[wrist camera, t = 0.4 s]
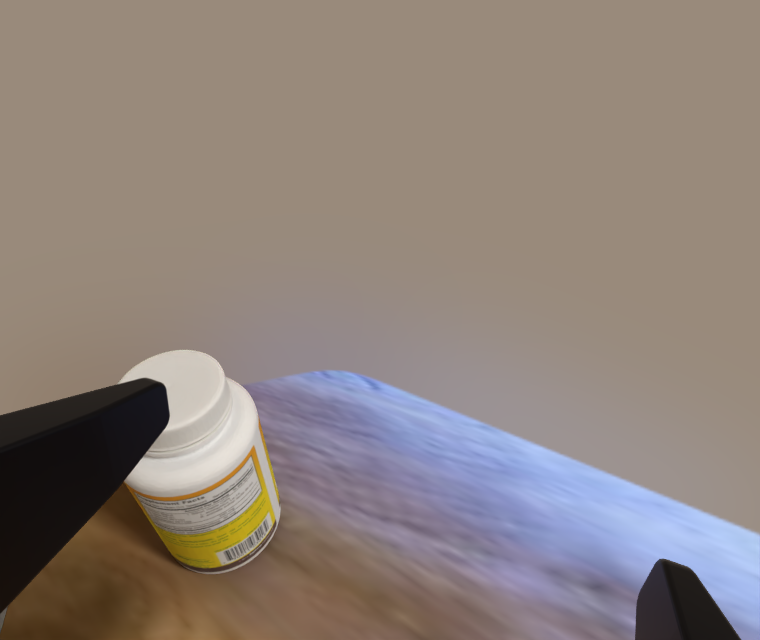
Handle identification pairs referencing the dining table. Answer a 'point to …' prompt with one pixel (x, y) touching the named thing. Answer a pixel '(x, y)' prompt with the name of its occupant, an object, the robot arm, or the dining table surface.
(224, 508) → the supplement bottle
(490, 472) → the dining table surface
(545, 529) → the dining table surface
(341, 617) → the dining table surface
